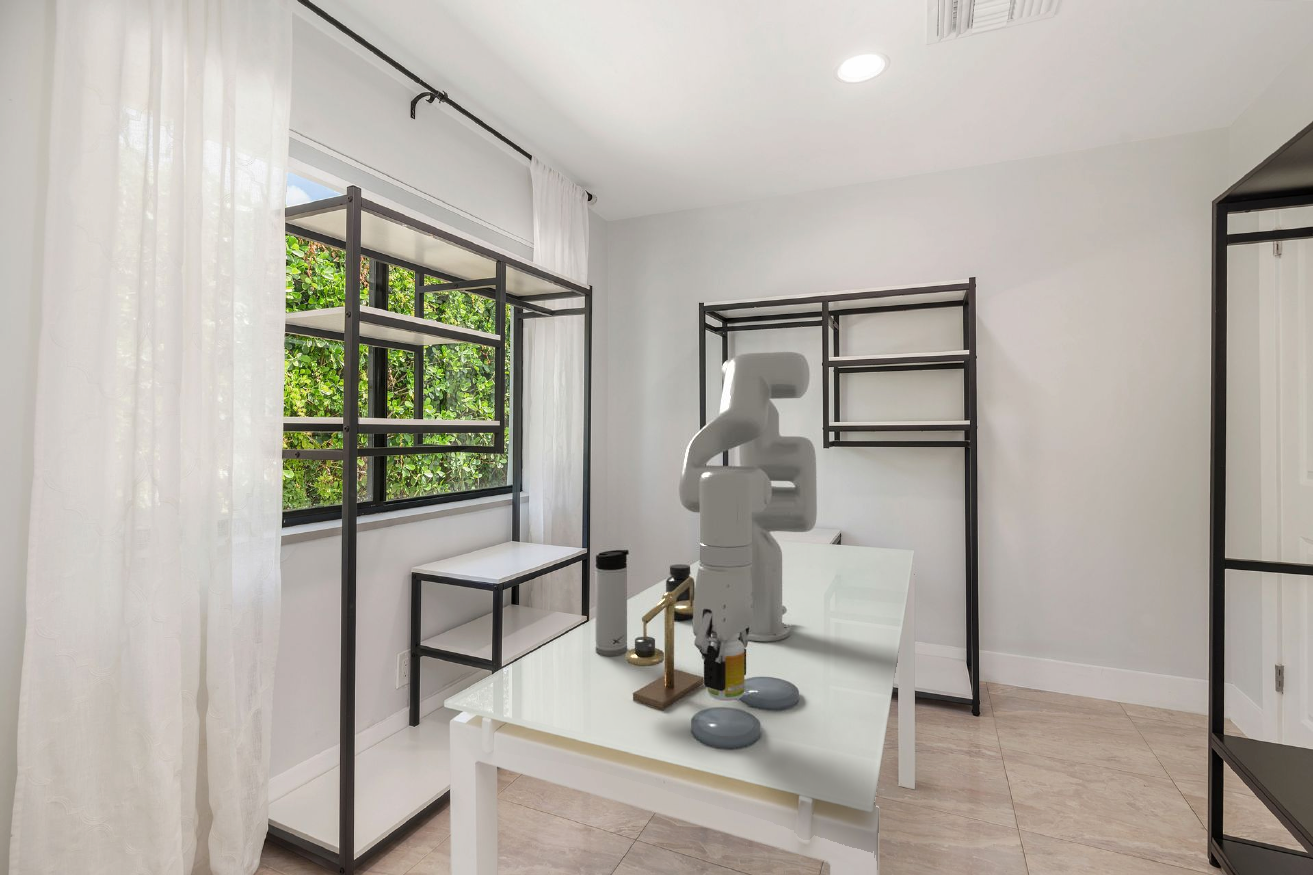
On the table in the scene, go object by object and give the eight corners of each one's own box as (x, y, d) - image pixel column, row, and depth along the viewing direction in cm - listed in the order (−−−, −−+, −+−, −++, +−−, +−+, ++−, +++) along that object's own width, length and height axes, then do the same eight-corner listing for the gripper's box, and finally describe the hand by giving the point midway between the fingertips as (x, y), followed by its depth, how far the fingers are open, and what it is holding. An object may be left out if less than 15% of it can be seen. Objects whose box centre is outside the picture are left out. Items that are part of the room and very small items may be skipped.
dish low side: (713, 708, 93) (713, 700, 93) (772, 727, 87) (772, 718, 87) (677, 734, 85) (677, 726, 85) (740, 757, 79) (740, 747, 79)
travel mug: (624, 657, 114) (624, 553, 114) (591, 655, 115) (591, 552, 115) (632, 646, 120) (632, 547, 120) (600, 643, 122) (600, 546, 122)
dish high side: (753, 678, 104) (753, 671, 104) (808, 693, 98) (808, 685, 98) (725, 699, 96) (725, 691, 96) (783, 716, 90) (783, 708, 90)
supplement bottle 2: (747, 688, 87) (747, 622, 87) (740, 704, 82) (740, 634, 82) (711, 683, 89) (711, 619, 89) (702, 698, 84) (702, 629, 84)
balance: (686, 668, 109) (686, 571, 108) (714, 676, 105) (714, 575, 105) (618, 708, 93) (617, 594, 93) (648, 719, 89) (648, 600, 89)
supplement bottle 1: (700, 615, 141) (700, 565, 141) (685, 623, 135) (685, 570, 135) (675, 611, 144) (675, 561, 144) (660, 618, 139) (660, 567, 138)
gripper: (731, 544, 95) (731, 657, 95) (670, 562, 81) (670, 695, 81) (774, 549, 90) (774, 668, 90) (718, 569, 77) (718, 709, 77)
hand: (725, 679), depth 86 cm, fingers closed on supplement bottle 2, 5 cm apart
